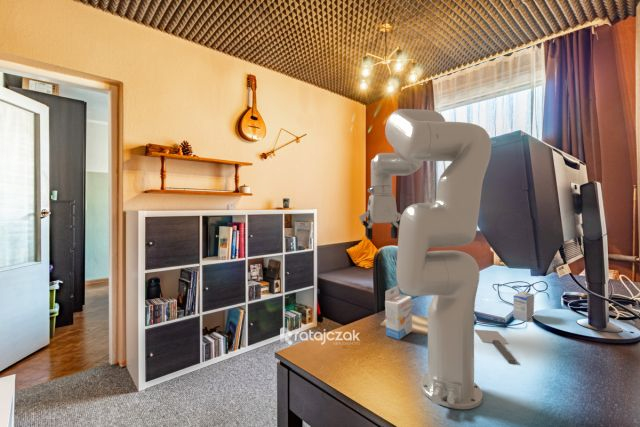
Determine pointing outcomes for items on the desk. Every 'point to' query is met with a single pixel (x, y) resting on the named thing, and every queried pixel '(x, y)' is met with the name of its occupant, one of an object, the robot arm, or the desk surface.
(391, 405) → the desk surface
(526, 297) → the medicine box
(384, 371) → the desk surface
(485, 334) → the steel turner
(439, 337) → the robot arm
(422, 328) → the cork mat
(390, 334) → the ink box
